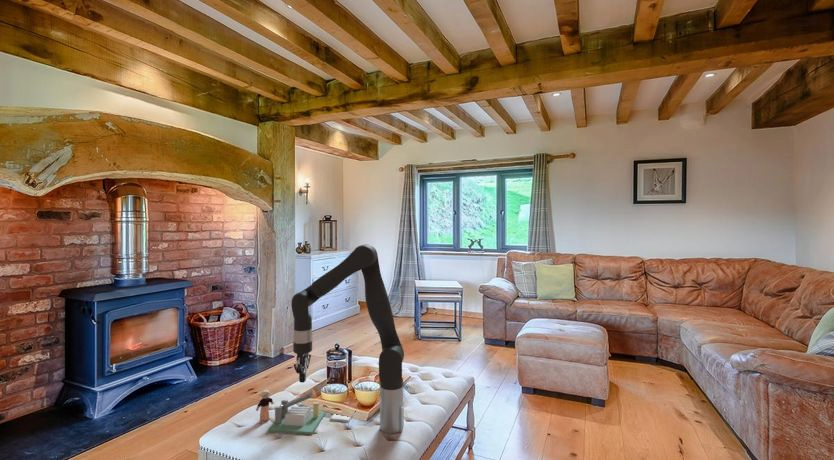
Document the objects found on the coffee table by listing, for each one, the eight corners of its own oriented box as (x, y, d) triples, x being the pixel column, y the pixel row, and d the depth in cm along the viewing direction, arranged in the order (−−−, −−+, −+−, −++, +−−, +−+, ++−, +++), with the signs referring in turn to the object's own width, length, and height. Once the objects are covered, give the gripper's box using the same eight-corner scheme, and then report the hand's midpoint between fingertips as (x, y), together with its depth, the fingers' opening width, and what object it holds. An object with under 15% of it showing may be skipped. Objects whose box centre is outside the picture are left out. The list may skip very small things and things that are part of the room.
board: (325, 414, 166) (325, 396, 166) (312, 434, 150) (312, 415, 150) (285, 412, 168) (285, 395, 168) (267, 432, 152) (267, 413, 152)
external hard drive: (358, 409, 172) (348, 423, 160) (341, 407, 174) (330, 421, 161) (358, 405, 172) (348, 419, 160) (341, 404, 174) (330, 417, 161)
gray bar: (315, 394, 160) (312, 389, 160) (311, 398, 156) (309, 393, 156) (282, 408, 162) (280, 403, 162) (278, 413, 158) (276, 408, 158)
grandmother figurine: (261, 425, 157) (261, 394, 157) (254, 423, 159) (254, 392, 159) (276, 416, 164) (275, 387, 164) (269, 414, 166) (269, 385, 165)
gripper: (305, 345, 151) (305, 389, 152) (317, 335, 165) (317, 375, 165) (287, 344, 152) (286, 388, 152) (300, 334, 165) (300, 374, 166)
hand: (302, 381), depth 159 cm, fingers closed
